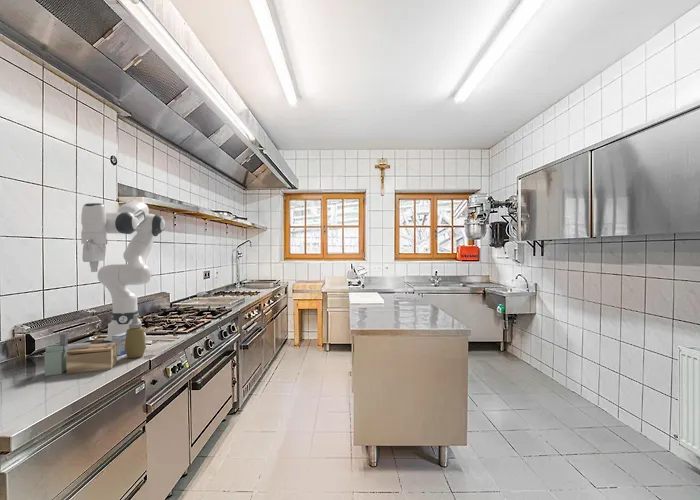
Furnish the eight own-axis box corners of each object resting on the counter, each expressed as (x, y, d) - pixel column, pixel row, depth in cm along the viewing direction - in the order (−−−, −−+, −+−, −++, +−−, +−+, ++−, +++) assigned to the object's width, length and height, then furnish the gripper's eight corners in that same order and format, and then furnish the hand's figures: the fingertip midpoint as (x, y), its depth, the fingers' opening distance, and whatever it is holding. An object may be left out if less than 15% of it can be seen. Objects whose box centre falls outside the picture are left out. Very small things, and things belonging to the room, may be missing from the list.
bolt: (62, 348, 135) (62, 333, 135) (90, 345, 139) (90, 330, 139) (60, 350, 133) (60, 334, 133) (88, 347, 136) (88, 332, 136)
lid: (75, 347, 140) (75, 344, 140) (116, 344, 145) (116, 341, 145) (66, 354, 130) (66, 350, 130) (110, 350, 136) (111, 347, 136)
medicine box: (120, 355, 154) (120, 336, 154) (111, 355, 155) (111, 335, 155) (134, 350, 162) (134, 331, 161) (126, 350, 162) (126, 331, 162)
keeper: (52, 369, 136) (51, 343, 136) (67, 368, 138) (67, 342, 137) (44, 375, 129) (44, 348, 129) (61, 373, 131) (61, 346, 131)
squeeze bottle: (123, 360, 147) (123, 317, 147) (125, 355, 154) (125, 314, 154) (145, 357, 150) (145, 316, 150) (146, 352, 158) (146, 313, 158)
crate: (75, 366, 140) (75, 348, 140) (116, 361, 145) (116, 344, 145) (66, 374, 130) (66, 355, 130) (111, 369, 136) (111, 351, 136)
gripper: (96, 239, 143) (96, 273, 143) (108, 240, 162) (108, 270, 162) (77, 239, 140) (77, 273, 140) (91, 240, 159) (91, 270, 159)
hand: (94, 271), depth 151 cm, fingers closed
